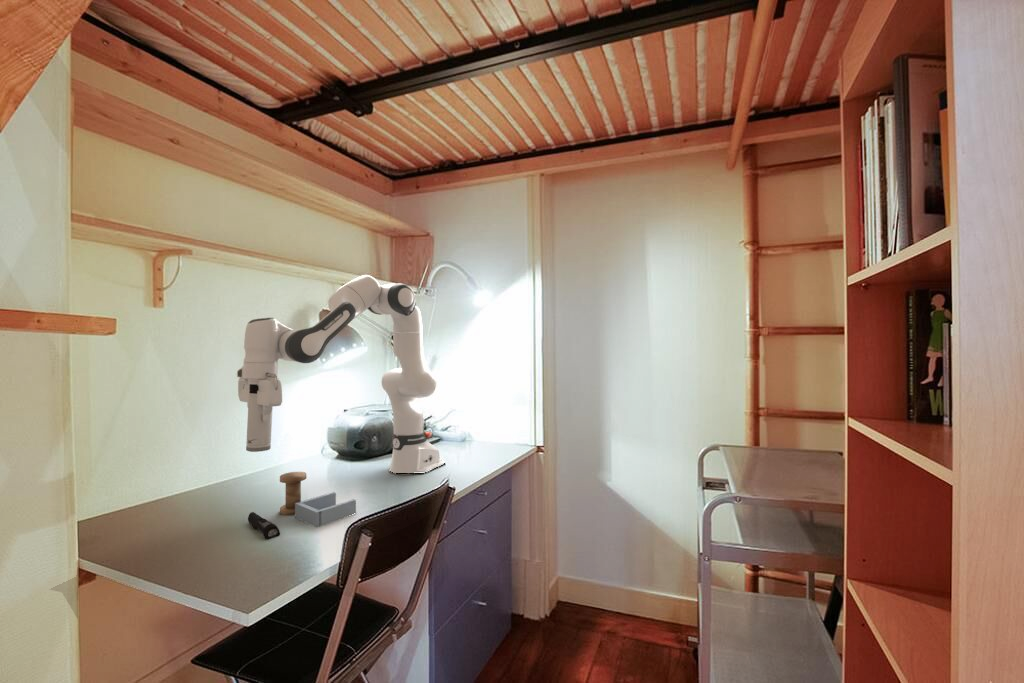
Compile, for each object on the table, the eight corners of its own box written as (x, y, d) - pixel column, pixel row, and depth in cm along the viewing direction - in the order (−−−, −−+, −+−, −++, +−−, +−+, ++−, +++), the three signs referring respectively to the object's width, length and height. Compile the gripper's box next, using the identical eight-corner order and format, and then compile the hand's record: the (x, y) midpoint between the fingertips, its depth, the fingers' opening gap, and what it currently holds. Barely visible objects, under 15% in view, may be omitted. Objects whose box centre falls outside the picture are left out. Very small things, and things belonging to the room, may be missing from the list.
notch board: (333, 505, 135) (333, 491, 135) (355, 513, 128) (356, 499, 128) (295, 517, 125) (295, 503, 125) (317, 527, 118) (317, 512, 118)
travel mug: (247, 453, 126) (251, 382, 127) (244, 448, 132) (248, 381, 132) (272, 450, 130) (275, 382, 131) (268, 446, 136) (271, 380, 136)
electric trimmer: (259, 520, 124) (259, 509, 124) (281, 536, 114) (281, 524, 114) (244, 524, 121) (244, 513, 121) (265, 541, 111) (265, 528, 111)
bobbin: (298, 504, 135) (298, 470, 135) (311, 509, 131) (311, 474, 131) (275, 511, 129) (275, 475, 129) (287, 517, 125) (287, 480, 125)
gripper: (289, 373, 128) (287, 421, 128) (256, 370, 140) (255, 414, 140) (266, 374, 123) (264, 424, 123) (234, 371, 135) (232, 416, 135)
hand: (259, 419), depth 131 cm, fingers closed on travel mug, 6 cm apart
